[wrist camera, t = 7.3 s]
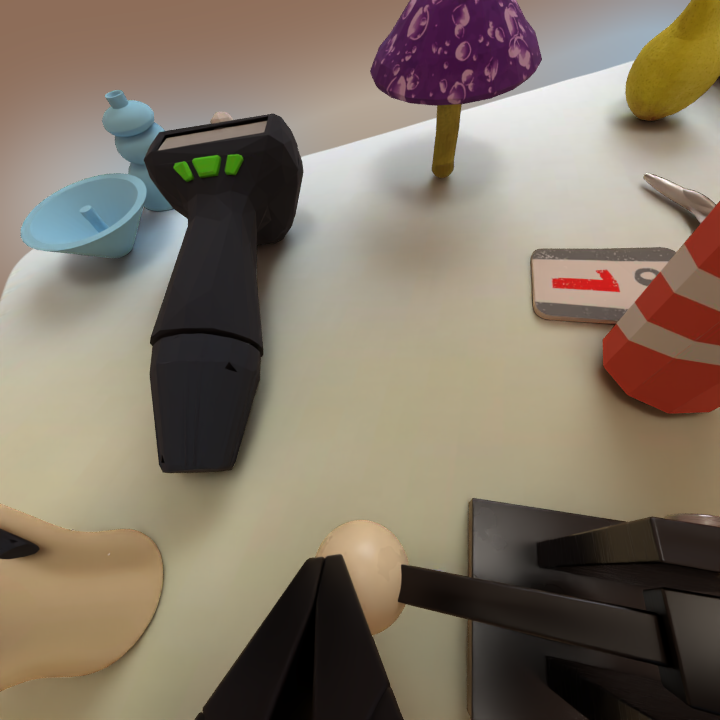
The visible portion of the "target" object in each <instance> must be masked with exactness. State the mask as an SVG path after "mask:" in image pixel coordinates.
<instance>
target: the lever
mask: <svg viewBox="0 0 720 720" xmlns="http://www.w3.org/2000/svg"><path fill="white" fill-rule="evenodd" d="M335 554H342V556H343V558H344V561H345V563H346V566H347V569H348V571H349V574H350V577H351V580H352V582H353V585H354V588H355V590H356V593H357V596H358V599H359V601H360V604H361V607H362V609H363V612H364V615H365V618H366V620H367V623H368V626H369V628H370V631H371V634H372V635H375V634H378V633H380V632H382V631H384V630H385V629H387V628H388V627H389V626H391V625H392V624H393V623H394V622H395V620H396V619H397V618H398V617H399V615H400V614H401V613H402V611H403V609H404V607H405V604H407V605H411V606H415V607H420V608H424V609H428V610H432V611H436V612H440V613H444V614H448V615H452V616H456V617H461V618H465V619H469V620H473V621H477V622H481V623H485V624H489V625H493V626H498V627H502V628H506V629H510V630H514V631H518V632H522V633H526V634H530V635H535V636H539V637H543V638H547V639H551V640H555V641H559V642H563V643H567V644H572V645H576V646H580V647H584V648H588V649H592V650H596V651H600V652H604V653H608V654H613V655H617V656H621V657H625V658H629V659H633V660H637V661H641V662H645V663H650V664H654V665H658V668H659V672H660V677H661V682H662V685H663V687H664V688H666V689H667V690H668V691H670V692H671V693H672V694H674V695H675V696H676V697H678V698H679V699H680V700H682V701H683V702H684V703H685V704H687V705H688V706H690V707H691V708H693V709H697V710H700V711H704V712H708V713H711V714H715V715H718V716H720V596H715V595H709V594H703V593H697V592H691V591H685V590H678V589H672V588H666V587H661V588H653V589H645V590H643V596H644V601H645V605H646V610H642V609H636V608H631V607H626V606H621V605H615V604H610V603H605V602H599V601H594V600H589V599H584V598H578V597H573V596H568V595H563V594H557V593H552V592H547V591H542V590H536V589H531V588H526V587H520V586H515V585H510V584H505V583H499V582H494V581H489V580H484V579H478V578H473V577H468V576H463V575H457V574H452V573H447V572H441V571H436V570H431V569H426V568H420V567H415V566H410V565H409V562H408V558H407V555H406V553H405V550H404V548H403V547H402V545H401V543H400V542H399V540H398V539H397V538H396V536H395V535H394V534H393V533H392V532H391V531H389V530H388V529H387V528H385V527H384V526H382V525H380V524H378V523H375V522H372V521H368V520H355V521H350V522H347V523H345V524H342V525H340V526H339V527H337V528H335V529H334V530H333V531H332V532H331V533H330V534H329V535H328V536H327V537H326V538H325V539H324V541H323V542H322V544H321V545H320V547H319V549H318V551H317V554H316V556H315V557H324V558H325V557H326V556H328V555H335Z"/></svg>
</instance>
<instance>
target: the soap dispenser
mask: <svg viewBox="0 0 720 720" xmlns="http://www.w3.org/2000/svg"><path fill="white" fill-rule="evenodd" d="M105 97H106V99H107V100H108V102H109V103H110V105H111V107H109V108H108V109H107V110H106V112H105V113H104V116H103V120H102V122H103V125H104V127H105V129H106V130H107V131H108V132H110V133H111V134H113V135H115V145H116V148H117V150H118V152H119V153H120V154H121V156H122V157H123V158H125V159H126V160H128V161H129V162H131V164H130V166H129V173H128V174H120V173H116V174H104V175H98V176H94V177H91V178H87V179H84V180H81V181H78V182H76V183H73V184H71V185H68V186H66V187H64V188H62V189H60V190H58V191H57V192H55V193H53V194H52V195H51V196H49V197H47V198H46V199H44V200H43V201H42V202H41V203H39V204H38V205H37V206H36V207H35V208H34V209H33V210H32V211H31V212H30V213H29V215H28V216H27V217H26V219H25V220H24V222H23V225H22V227H21V238H22V240H23V242H24V243H25V244H26V245H27V246H29V247H31V248H34V249H36V250H43V251H51V252H60V253H69V254H79V255H88V256H97V257H106V258H120V257H123V256H125V255H127V254H128V253H129V252H130V251H131V250H132V248H133V245H134V241H135V237H136V233H137V230H138V226H139V222H140V218H141V214H142V210H143V206H144V207H145V208H147V209H149V210H153V211H165V210H171V209H174V208H172V206H171V205H170V204H169V202H168V201H167V200H166V199H165V198H164V197H163V195H162V194H161V193H160V191H159V190H158V188H157V187H156V186H155V184H154V183H153V181H152V180H151V178H150V176H149V174H148V171H147V168H146V165H145V162H144V158H145V155H146V153H147V151H148V149H149V147H150V145H151V143H152V142H153V140H154V139H155V138H156V136H157V135H158V133H159V132H163V131H165V130H164V129H163V128H162V127H161V126H159V125H158V124H157V123H155V122H154V112H153V111H152V109H151V108H150V107H149V106H148V105H147V104H144V103H142V102H139V101H133V100H128V101H127V99H126V97H125V95H124V93H123V91H121V90H115V91H111V92H109V93H107V94H106V95H105Z"/></svg>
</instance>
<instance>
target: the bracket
mask: <svg viewBox="0 0 720 720" xmlns="http://www.w3.org/2000/svg"><path fill="white" fill-rule="evenodd" d="M468 577H473V578H478V579H484V580H489V581H494V582H499V583H505V584H510V585H515V586H520V587H526V588H531V589H536V590H542V591H547V592H552V593H557V594H563V595H568V596H573V597H578V598H584V599H589V600H594V601H599V602H605V603H610V604H615V605H621V606H626V607H631V608H636V609H642V610H646V605H645V601H644V596H643V590H645V589H653V588H661V587H666V588H672V589H678V590H685V591H691V592H697V593H703V594H709V595H715V596H720V517H718V516H713V515H704V514H672V515H667V516H665V517H664V518H658V517H648V518H644V519H639V520H635V521H630V522H625V521H618V520H612V519H605V518H599V517H592V516H586V515H579V514H573V513H566V512H560V511H554V510H547V509H541V508H534V507H528V506H521V505H515V504H508V503H502V502H495V501H489V500H482V499H476V498H472V500H471V501H470V502H469V538H468ZM467 711H468V713H469V716H470V718H471V720H720V716H718V715H715V714H711V713H708V712H704V711H700V710H697V709H693V708H691V707H690V706H688V705H687V704H685V703H684V702H683V701H682V700H680V699H679V698H678V697H676V696H675V695H674V694H672V693H671V692H670V691H668V690H667V689H666V688H664V687H663V685H662V682H661V677H660V672H659V668H658V665H654V664H650V663H645V662H641V661H637V660H633V659H629V658H625V657H621V656H617V655H613V654H608V653H604V652H600V651H596V650H592V649H588V648H584V647H580V646H576V645H572V644H567V643H563V642H559V641H555V640H551V639H547V638H543V637H539V636H535V635H530V634H526V633H522V632H518V631H514V630H510V629H506V628H502V627H498V626H493V625H489V624H485V623H481V622H477V621H473V620H469V619H468V657H467Z"/></svg>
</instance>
